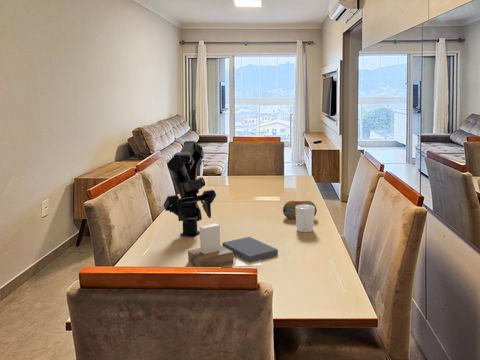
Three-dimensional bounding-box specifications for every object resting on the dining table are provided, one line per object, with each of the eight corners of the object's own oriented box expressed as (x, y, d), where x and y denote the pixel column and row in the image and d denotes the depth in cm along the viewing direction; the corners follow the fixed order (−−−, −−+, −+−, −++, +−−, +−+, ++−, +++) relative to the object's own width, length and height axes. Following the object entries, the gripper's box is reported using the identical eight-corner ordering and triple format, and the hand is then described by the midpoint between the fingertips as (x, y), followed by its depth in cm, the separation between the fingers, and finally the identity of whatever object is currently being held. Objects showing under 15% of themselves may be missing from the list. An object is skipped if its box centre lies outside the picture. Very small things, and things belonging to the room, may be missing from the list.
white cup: (291, 230, 190) (291, 207, 188) (302, 226, 195) (302, 203, 193) (307, 234, 184) (307, 210, 182) (318, 229, 190) (318, 206, 188)
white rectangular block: (200, 251, 154) (199, 226, 153) (215, 248, 158) (215, 223, 156) (204, 254, 152) (203, 228, 150) (220, 250, 155) (219, 225, 153)
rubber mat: (222, 247, 170) (222, 242, 170) (249, 241, 176) (249, 236, 176) (249, 262, 155) (249, 256, 155) (277, 254, 161) (277, 249, 161)
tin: (282, 219, 207) (282, 201, 205) (283, 217, 210) (283, 199, 208) (316, 220, 204) (316, 201, 202) (316, 218, 207) (316, 200, 206)
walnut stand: (188, 261, 156) (187, 250, 156) (218, 254, 163) (218, 243, 162) (202, 270, 148) (201, 259, 147) (233, 263, 155) (233, 251, 154)
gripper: (165, 173, 156) (180, 211, 149) (213, 167, 165) (229, 203, 158) (157, 192, 164) (171, 229, 157) (203, 185, 173) (218, 220, 166)
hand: (198, 219), depth 159 cm, fingers open, 9 cm apart
